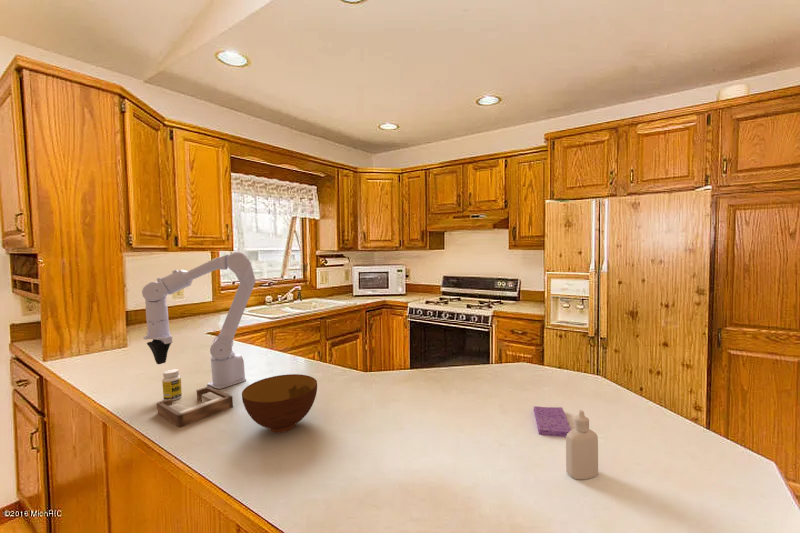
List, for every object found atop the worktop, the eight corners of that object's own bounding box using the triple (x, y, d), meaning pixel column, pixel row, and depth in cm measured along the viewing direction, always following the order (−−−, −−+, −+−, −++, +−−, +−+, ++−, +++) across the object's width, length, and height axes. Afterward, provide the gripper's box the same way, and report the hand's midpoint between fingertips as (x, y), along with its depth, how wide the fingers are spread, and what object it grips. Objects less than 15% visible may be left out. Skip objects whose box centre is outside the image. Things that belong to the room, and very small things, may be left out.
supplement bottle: (173, 402, 109) (171, 374, 109) (159, 401, 110) (157, 373, 110) (185, 395, 114) (183, 368, 114) (172, 394, 115) (170, 368, 115)
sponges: (538, 436, 83) (538, 428, 83) (533, 411, 95) (533, 404, 95) (572, 439, 81) (572, 431, 81) (562, 413, 94) (562, 406, 93)
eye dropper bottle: (564, 465, 72) (563, 404, 71) (596, 468, 70) (595, 407, 69) (567, 479, 67) (566, 415, 67) (601, 483, 66) (601, 417, 65)
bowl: (248, 453, 80) (245, 408, 79) (241, 420, 96) (238, 382, 95) (327, 432, 88) (325, 390, 87) (309, 404, 104) (307, 369, 103)
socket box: (209, 395, 113) (208, 386, 113) (232, 406, 104) (232, 396, 104) (157, 413, 102) (156, 403, 102) (179, 427, 93) (178, 415, 93)
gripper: (134, 320, 116) (137, 362, 117) (152, 325, 107) (155, 371, 108) (159, 316, 122) (162, 357, 123) (178, 320, 113) (181, 364, 114)
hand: (161, 363), depth 116 cm, fingers closed
